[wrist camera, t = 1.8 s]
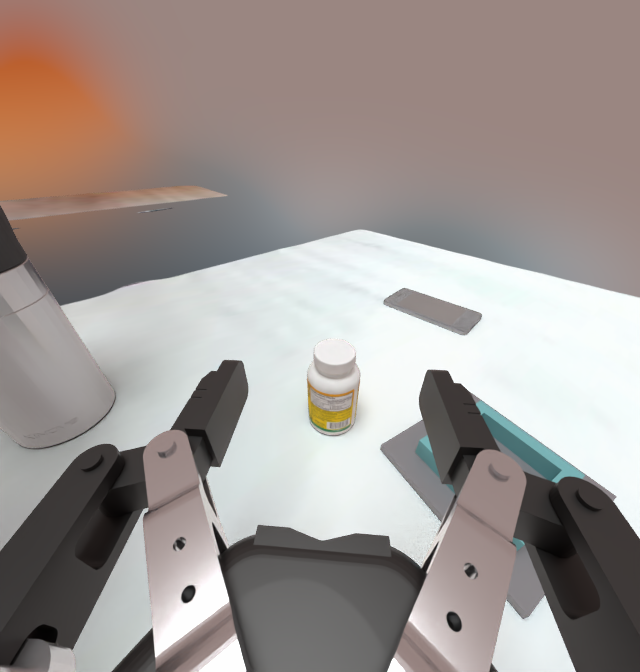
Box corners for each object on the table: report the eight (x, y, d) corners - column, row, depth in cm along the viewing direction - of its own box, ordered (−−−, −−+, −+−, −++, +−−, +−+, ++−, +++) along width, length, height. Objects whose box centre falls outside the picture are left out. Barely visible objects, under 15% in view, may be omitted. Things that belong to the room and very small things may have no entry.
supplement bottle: (339, 446, 28) (343, 379, 22) (298, 420, 30) (294, 355, 25) (363, 411, 31) (373, 346, 26) (325, 391, 34) (327, 328, 28)
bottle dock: (380, 449, 27) (384, 432, 26) (466, 395, 33) (474, 379, 32) (523, 618, 18) (543, 609, 16) (610, 500, 23) (632, 485, 22)
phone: (463, 339, 44) (466, 332, 43) (381, 306, 53) (381, 300, 52) (481, 320, 49) (483, 313, 48) (402, 292, 58) (403, 287, 57)
